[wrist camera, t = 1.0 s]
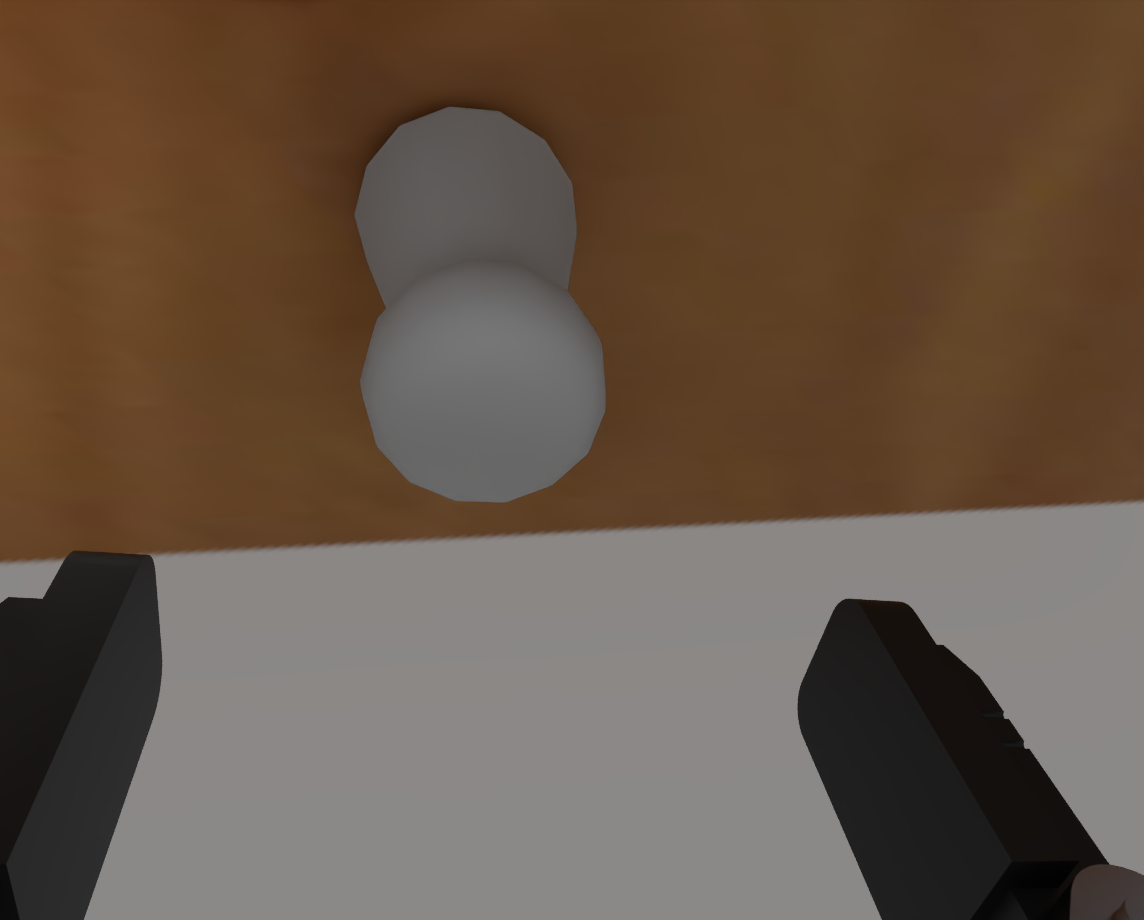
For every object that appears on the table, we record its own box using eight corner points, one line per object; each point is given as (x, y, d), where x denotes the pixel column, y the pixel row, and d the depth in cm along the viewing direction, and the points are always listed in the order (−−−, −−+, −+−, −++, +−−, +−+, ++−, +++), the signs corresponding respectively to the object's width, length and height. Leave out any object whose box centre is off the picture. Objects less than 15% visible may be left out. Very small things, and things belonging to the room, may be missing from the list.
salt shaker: (414, 317, 27) (398, 598, 16) (326, 136, 24) (233, 337, 13) (592, 249, 27) (696, 493, 16) (526, 56, 24) (600, 197, 13)
